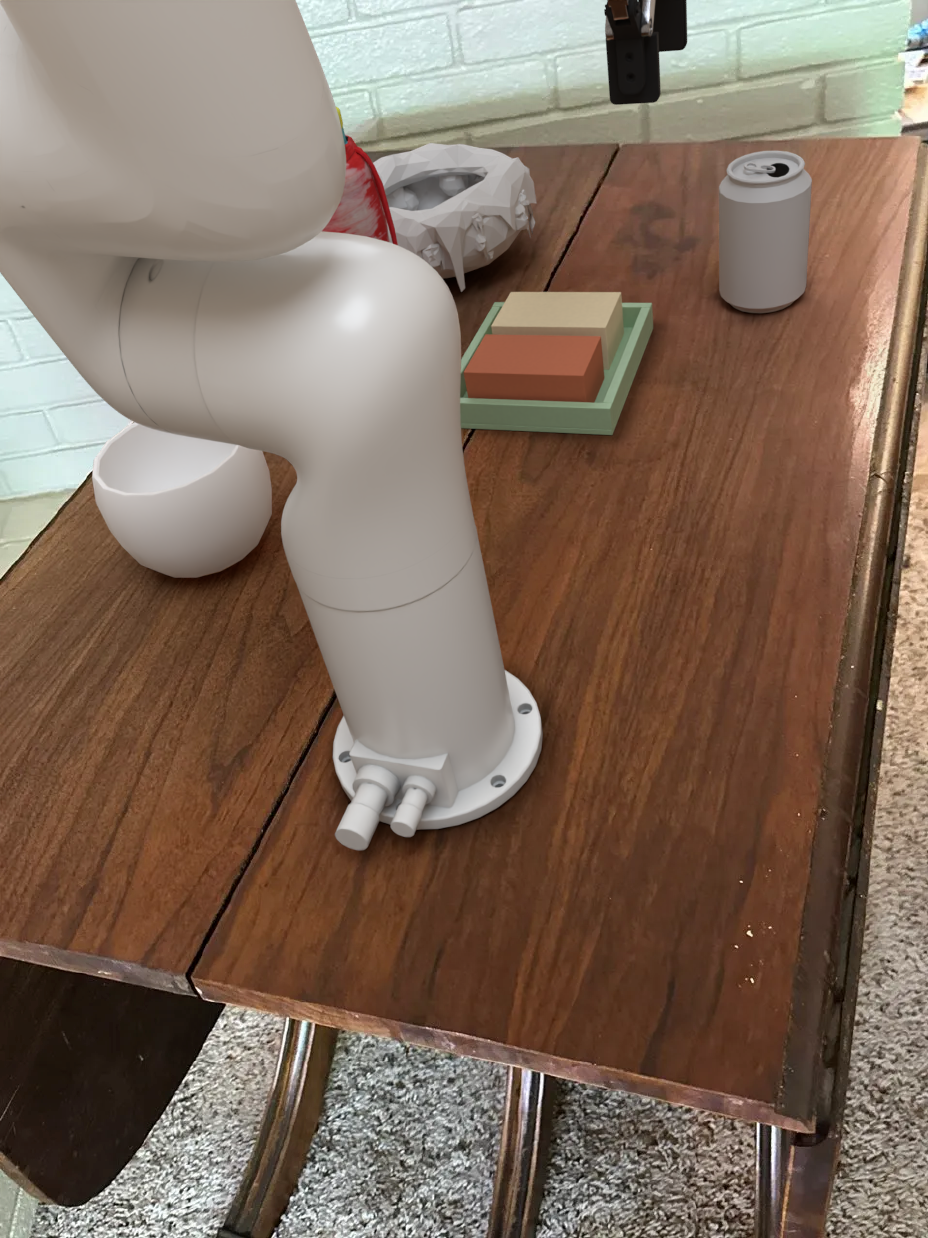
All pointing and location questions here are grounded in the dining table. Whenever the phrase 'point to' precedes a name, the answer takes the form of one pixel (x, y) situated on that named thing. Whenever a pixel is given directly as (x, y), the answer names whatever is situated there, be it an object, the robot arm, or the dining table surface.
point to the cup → (182, 499)
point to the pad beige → (564, 317)
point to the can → (764, 231)
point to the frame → (559, 413)
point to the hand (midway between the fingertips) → (650, 74)
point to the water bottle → (361, 198)
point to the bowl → (457, 204)
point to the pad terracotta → (536, 368)
